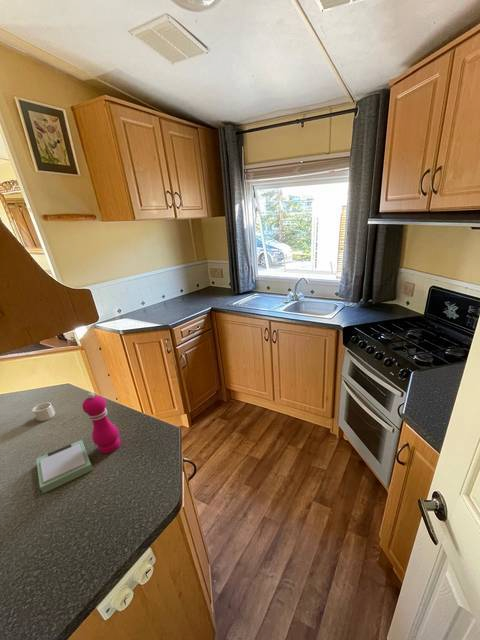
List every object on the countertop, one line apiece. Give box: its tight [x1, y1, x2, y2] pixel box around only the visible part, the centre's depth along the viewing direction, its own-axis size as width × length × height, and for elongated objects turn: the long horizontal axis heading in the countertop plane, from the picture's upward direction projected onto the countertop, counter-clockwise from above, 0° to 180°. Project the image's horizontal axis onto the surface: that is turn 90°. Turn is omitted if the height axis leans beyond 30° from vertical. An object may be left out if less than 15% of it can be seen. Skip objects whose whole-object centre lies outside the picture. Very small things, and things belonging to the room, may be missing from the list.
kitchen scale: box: [35, 439, 94, 494], centre depth 84 cm, size 14×12×3 cm
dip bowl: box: [31, 402, 56, 422], centre depth 108 cm, size 6×6×4 cm
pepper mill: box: [81, 392, 122, 454], centre depth 88 cm, size 7×7×20 cm
